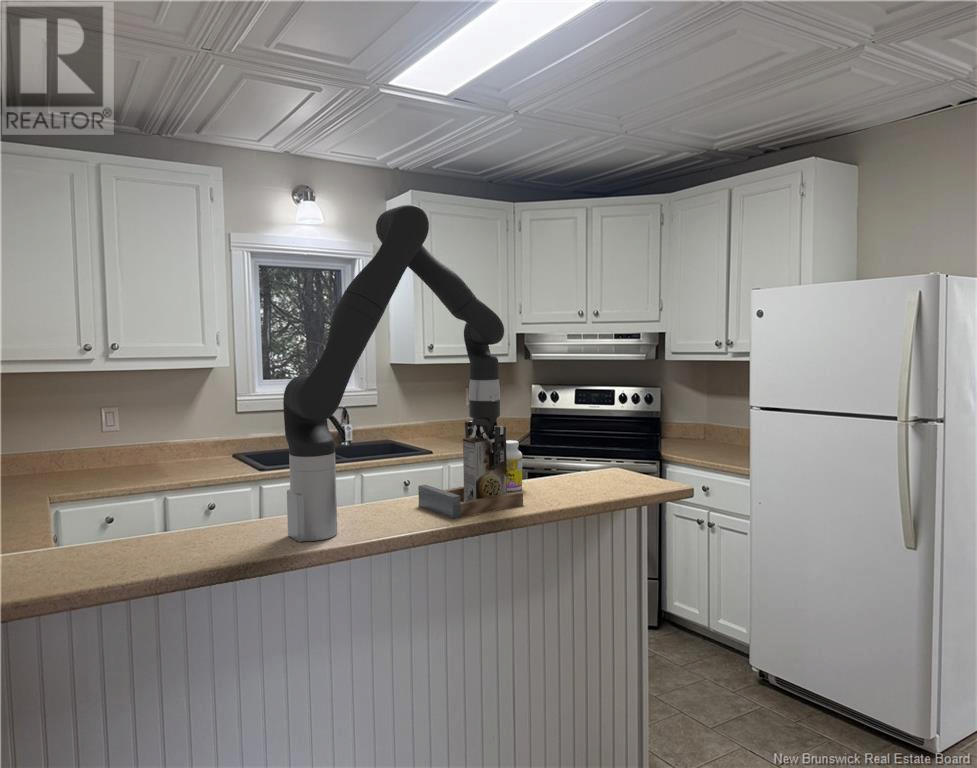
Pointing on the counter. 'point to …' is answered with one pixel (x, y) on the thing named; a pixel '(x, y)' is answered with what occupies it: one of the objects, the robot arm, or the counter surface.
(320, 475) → the robot arm
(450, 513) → the bar
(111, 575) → the counter surface
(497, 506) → the guide rails
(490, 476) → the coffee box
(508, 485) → the supplement bottle
